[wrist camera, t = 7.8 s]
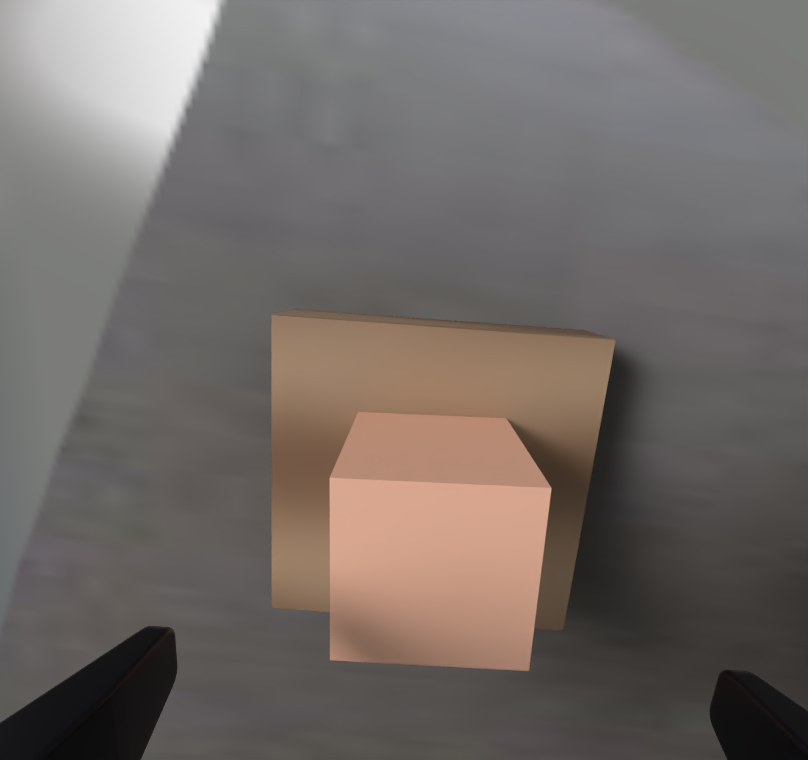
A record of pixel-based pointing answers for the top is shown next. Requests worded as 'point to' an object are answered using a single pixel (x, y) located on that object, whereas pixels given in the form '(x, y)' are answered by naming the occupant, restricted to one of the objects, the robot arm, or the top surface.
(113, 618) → the top surface
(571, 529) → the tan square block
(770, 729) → the robot arm
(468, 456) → the salmon pink cube
